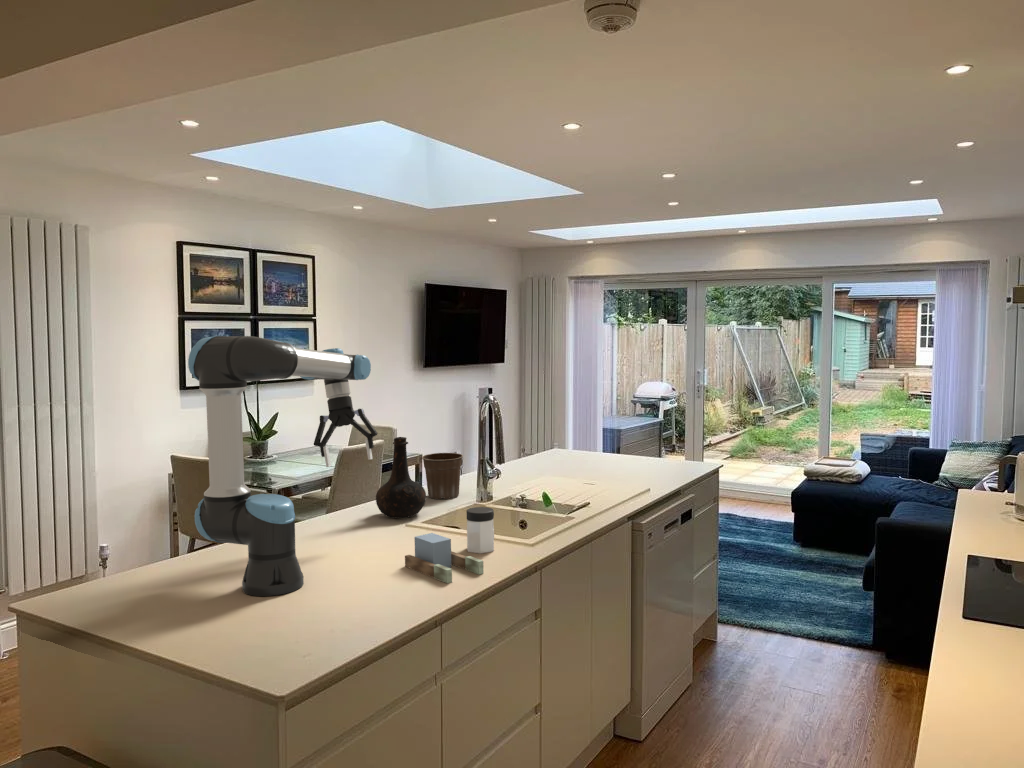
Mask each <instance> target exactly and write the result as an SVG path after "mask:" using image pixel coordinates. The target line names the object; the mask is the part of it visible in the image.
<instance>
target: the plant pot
mask: <svg viewBox="0 0 1024 768" xmlns="http://www.w3.org/2000/svg"><path fill="white" fill-rule="evenodd" d="M463 458H464V455H463V454H462V453H457V452H456V453H455V452H435V453H429V454H425V455H424V454H423V456H421V459H422V462H423V468H424V469H425V470H424V471H425V479H426V487H427V488H426V489H427V496H428V498H429V499H432V498H433V499H434V500H441V499H445V500H449V499H451V498H452V499H455V498H457V497H459V496H460V485H461V484H460V482H461V467H462V462H463ZM433 499H432V500H433Z"/></svg>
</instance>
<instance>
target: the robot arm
mask: <svg viewBox="0 0 1024 768" xmlns="http://www.w3.org/2000/svg"><path fill="white" fill-rule="evenodd" d="M187 363H188V364H187V365H188V366H187V367H188V370H189V373H190V374H192V377H193V379H194V380H197V381H198V383H199V384H198V385H199V386H198V387H199V390H200V391H201V392H202V393H203V394H204V395H205V401H206V428H207V429H206V430H207V451H208V474H209V475H208V476H209V477H208V478H209V479H208V481H209V486H208V488H207V489H206V490H205V491H204V492H203V498H202V499H201V500H200V501H199V502H198V504H197V508H196V509H195V511H194V524H195V528H196V530H197V531H198V533H199V535H200V536H202V537H203V538H204V539H206V540H208V541H212V542H216V543H220V544H223V543H225V544H226V543H227V544H232V545H233V544H234V545H243V546H244V545H246V546H247V551H248V552H247V553H248V554H247V555H248V560H247V563H246V567H245V571H244V575H243V578H242V580H241V585H242V586H241V587H242V588H241V589H242V592H243V593H244V594H246V595H249V596H255V597H273V596H279V595H284V594H289V593H292V592H295V591H297V590H299V589H300V588H302V587H303V586H304V584H305V583H304V580H305V579H304V574H303V571H302V570H301V569H302V568H301V566H300V563H299V561H298V558H297V554H296V513H295V507H294V503H293V501H292V500H291V499H290V498H289V497H287V496H284V495H281V494H275V493H268V494H267V493H259V494H258V493H257V494H253V495H251V494H252V493H251V491H252V490H251V488H249V487H248V486H247V485H246V484H245V466H244V465H245V464H244V462H245V460H244V441H243V440H244V439H243V438H244V437H243V435H244V434H243V416H242V415H243V409H242V407H243V406H242V393H244V391H245V390H246V389H247V388H248V387H247V386H248V384H247V383H248V382H258V381H265V380H277V379H278V380H279V379H280V380H285V379H288V378H291V377H300V378H301V379H304V380H308V381H309V380H311V381H313V380H323V382H324V389H325V396H326V398H327V408H328V409H327V410H328V415H319V424H318V428H317V431H316V434H315V438H314V440H313V446H315V447H319V448H320V454H321V457H322V458H324V460H325V466H326V468H330V467H332V462H331V456H330V450H329V446H327V443H328V442H329V440H330V438H331V436H332V435H333V433H334V431H335V430H336V429H337V428H341V427H343V426H344V427H345V426H349V425H351V426H352V427H354V428H355V429H356V430H357V431H359V432H360V433H361V434H362V435H363V436H365V437H366V439H364V443H365V447H366V453H367V460H368V461H369V460H374V459H373V458H374V457H373V452H372V449H374V447H375V446H374V437H376V436H377V435H378V431H377V430H376V428H375V426H374V425H372V423H371V422H370V420H369V419H368V417H367V416H366V415H365V411H364V409H363V408H358V409H356V410H354V408H353V400H352V397H351V396H350V395H351V390H350V383H349V381H362V380H363V381H364V380H366V379H368V378H369V377H370V374H371V370H372V369H371V368H372V365H371V360H370V359H369V357H368V356H366V355H364V354H357V353H356V354H347V353H344V350H343V349H341V348H339V347H337V348H334V347H333V348H328V349H323V350H314V349H307V348H299V347H295V346H293V345H292V344H290V343H288V342H282V341H277V340H273V339H268V338H264V337H259V336H253V335H245V336H244V335H243V336H242V335H241V336H238V335H237V336H234V335H233V336H231V335H230V336H229V335H228V336H227V335H225V336H220V335H214V336H209V337H204V338H200V339H199V340H198V341H197V342H196V343H195V344H194V345H193V347H192V348H191V350H190V351H189V355H188V359H187ZM356 415H357V417H359V419H360V420H361V421H362V423H363V424H364V426H365V427H366V428H367V429H368V430H367V429H365V428H364V427H363V426H362V425H361V424H360V423H359V422H358V421H357V420H355V419H354V418H355V416H356ZM329 420H330V422H331V423H330V425H329V427H328V429H327V430H326V432H325V435H324V436H323V434H324V431H325V427H326V425H327V424H326V423H327V422H328V421H329Z"/></svg>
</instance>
